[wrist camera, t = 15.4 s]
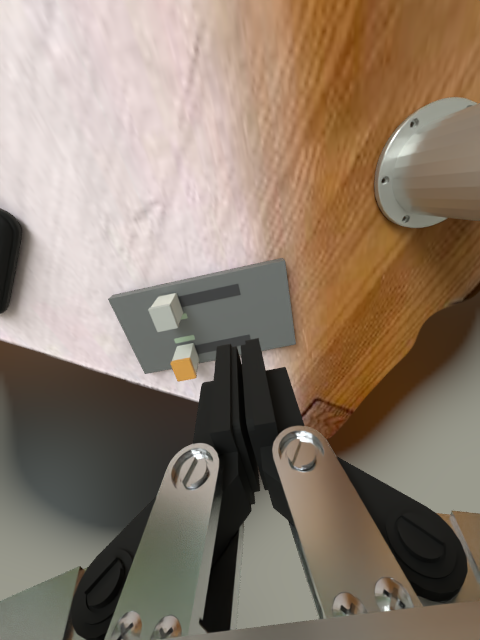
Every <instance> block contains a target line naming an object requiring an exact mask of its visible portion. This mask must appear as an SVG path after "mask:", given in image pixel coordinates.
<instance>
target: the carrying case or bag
mask: <svg viewBox="0 0 480 640" xmlns="http://www.w3.org/2000/svg"><path fill="white" fill-rule="evenodd" d="M21 237H22V230H21V227H20V224H19V223H18V221H17V220H16V219H15V217H14V216H13V215H11V214H10V213H8V212H7V211H5V210H3V209H1V208H0V314H1V313H3V312H5V311H6V310H7V308H8V306H9V301H10V296H11V291H12V286H13V280H14V275H15V270H16V264H17V259H18V254H19V249H20V244H21Z"/></svg>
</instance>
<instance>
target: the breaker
mask: <svg viewBox="0 0 480 640" xmlns="http://www.w3.org/2000/svg"><path fill="white" fill-rule="evenodd" d="M148 311H149V313H150V315H151V318H152V320H153V323H154V325H155V327H156V330H157V332H161V331H166V330H171V329H176V328H178V327H179V322H180V320H181V317H182V315H183V311H182V308H181V305H180V302H179V299H178V296H177V293H173V294H168V295H164V296H159V297H158V298H157V299H156V300H155V302H154V303H153V305H152V306H151V308H149V309H148Z"/></svg>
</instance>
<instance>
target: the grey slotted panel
mask: <svg viewBox="0 0 480 640" xmlns="http://www.w3.org/2000/svg"><path fill="white" fill-rule="evenodd" d="M173 293H177V296H178V299H179V302H180V305H181V308H182V311H183V315H182V317H181V320H180V322H179V327H178V328H176V329H171V330H166V331H161V332H157V330H156V327H155V325H154V323H153V320H152V318H151V315H150V313H149V311H148V309H149V308H151V306H152V305H153V303H154V302H155V300H156V299H157V298H158V297H159V296H164V295H168V294H173ZM108 300H109V302H110V304H111V306H112V308H113V310H114V312H115V314H116V316H117V318H118V320H119V322H120V324H121V326H122V328H123V330H124V332H125V334H126V336H127V338H128V340H129V343H130V345H131V347H132V349H133V351H134V353H135V355H136V357H137V359H138V361H139V363H140V365H141V367H142V369H143V371H144V373H145V374H147V373H152V372H157V371H162V370H167V369H172V367H171V364H170V363H171V361H172V359H173V356H174V354H175V351H176V348H177V346H181V345H186V344H190V343H194V346H195V349H196V352H197V354H198V357H199V363H203V362H208V361H213V360H216V350H217V346H221V345H226V344H231V345H232V347H234V346H237V349H238V352H239V355H241V345H245V344H246V343H245V341H246V340H251V339H256V338H259V342H260V346H261V351H264V350H269V349H274V348H279V347H284V346H289V345H294V344H296V342H295V334H294V327H293V319H292V311H291V303H290V296H289V288H288V280H287V272H286V265H285V260H284V259H283V258H280V259H275V260H271V261H266V262H262V263H257V264H253V265H248V266H243V267H239V268H234V269H230V270H225V271H221V272H216V273H212V274H207V275H202V276H198V277H193V278H189V279H184V280H180V281H175V282H171V283H166V284H161V285H157V286H152V287H148V288H143V289H139V290H134V291H130V292H125V293H120V294H116V295H112V296H111V297H110V298H109V299H108Z"/></svg>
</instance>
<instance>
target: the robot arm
mask: <svg viewBox="0 0 480 640" xmlns="http://www.w3.org/2000/svg"><path fill="white" fill-rule="evenodd" d="M410 124H411V127H410ZM382 179H383V182H381V181H382ZM374 188H375V197H376V200H377V203H378V206H379V208H380V210H381V211H382V213H383V214H384V215H385V216H386V217H387V218H388V219H389V220H390V221H392V222H393V223H395V224H397V225H400V226H403V227H409V228H423V227H428V226H432V225H435V224H437V223H440V222H442V221H444V220H445V219H447V218H455V219H464V220H474V221H480V103H479V104H477V103H476V102H473V101H471V100H469V99H466V98H459V97H451V98H444V99H441V100H438V101H435V102H432V103H430V104H428V105H426V106H424V107H422V108H420V109H418V110H417V111H416V112H414V113H413V114H411V115H410V116H408V117H407V118H406V119H405V120H404V121H403V122H402V123H401V124H400V125H399V126H398V127H397V129H396V130H395V131H394V133H393V134H392V135H391V136H390V138H389V140H388V141H387V143H386V145H385V147H384V148H383V150H382V153H381V155H380V158H379V160H378V164H377V168H376V172H375V182H374ZM402 219H403V220H402ZM245 343H246V344H245V345H241V358H242V364H241V360H240V356H239V352H238V349H237V346H234V347H232V345H231V344H226V345H221V346H217V350H216V361H215V373H214V381H210V382H204V383H203V384H202V386H201V392H200V399H199V406H198V412H197V419H196V426H195V433H194V440H193V444H192V445H189V446H187V447H185V448H183V449H182V450H181V451H179V452H178V453H177V454H176V455H175V457H174V458H173V459H172V460H171V462H170V464H169V466H168V468H167V470H166V473H165V475H164V479H163V481H162V484H161V486H160V489H159V492H158V495H157V496H156V497H155V498H154V499H153V500H152V501H151V502H150V503H149V504H148V505H147V506H146V507H145V508H144V509H143V510H142V511H141V512H140V513H139V514H138V515H137V516H136V517H135V518H134V519H133V520H132V521H131V522H130V523H129V525H127V526H126V528H124V529H123V531H122V532H121V533H120V534H119V535H118V536H117V537H116V538H115V539H114V540H113V541H112V542H111V543H110V544H109V545H108V546H107V547H106V548H105V549H104V550H103V551H102V552H101V553H100V554H99V555H98V556H97V557H96V558H95V559H94V561H93V562H92V563H91V564H90V566H89V567H87V568H85V569H83V568H81V567H80V566H79V567H76V568H74V569H72V570H70V571H67V572H65V573H63V574H61V575H58V576H56V577H54V578H51V579H49V580H47V581H45V582H42V583H40V584H38V585H36V586H33V587H31V588H29V589H26V590H24V591H22V592H20V593H17V594H15V595H13V596H11V597H8V598H6V599H4V600H2V601H0V640H480V514H478V513H469V512H459V511H452V512H451V515H448V514H439V513H435V512H433V511H432V510H431V509H429V508H428V507H426V506H424V505H422V504H421V503H419V502H417V501H415V500H414V499H412V498H410V497H408V496H406V495H405V494H403V493H401V492H399V491H397V490H396V489H394V488H392V487H390V486H389V485H387V484H385V483H383V482H381V481H380V480H378V479H376V478H374V477H372V476H371V475H369V474H367V473H365V472H364V471H362V470H360V469H358V468H356V467H355V466H353V465H351V464H349V463H348V462H346V461H344V460H342V459H340V458H339V457H337V456H336V455H335V454H334V452H333V450H332V449H331V447H330V445H329V443H328V442H327V441H326V439H325V438H324V437H323V435H322V434H321V433H319V432H318V431H316V430H315V429H312V428H310V427H307V426H304V423H303V420H302V417H301V413H300V410H299V407H298V404H297V401H296V398H295V395H294V392H293V389H292V386H291V382H290V379H289V376H288V373H287V370H286V368H285V367H283V368H278V369H272V370H267V371H265V366H264V361H263V356H262V351H261V346H260V342H259V338H256V339H251V340H246V341H245ZM258 468H259V472H260V475H261V479H262V482H263V485H264V489H265V490H268V491H269V494H270V498H271V501H272V505H273V508H274V509H276V510H277V511H278V512H279V513H280V514H282V515H283V516H284V517H285V518H286V519H287V520H288V521H289V525H290V528H291V531H292V535H293V538H294V541H295V544H296V548H297V551H298V554H299V557H300V560H301V564H302V567H303V570H304V573H305V576H306V580H307V583H308V586H309V589H310V592H311V596H312V599H313V602H314V605H315V609H316V612H317V615H318V618H319V619H318V620H310V621H302V622H293V623H286V624H278V625H270V626H262V627H254V628H246V629H238V630H236V629H237V628H236V627H237V616H238V615H237V614H238V603H239V590H240V577H241V565H242V551H243V538H244V521H245V519H246V518H247V516H248V515H249V514H250V512H251V504H255V497H254V492H257V491H260V484H259V474H258Z"/></svg>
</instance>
